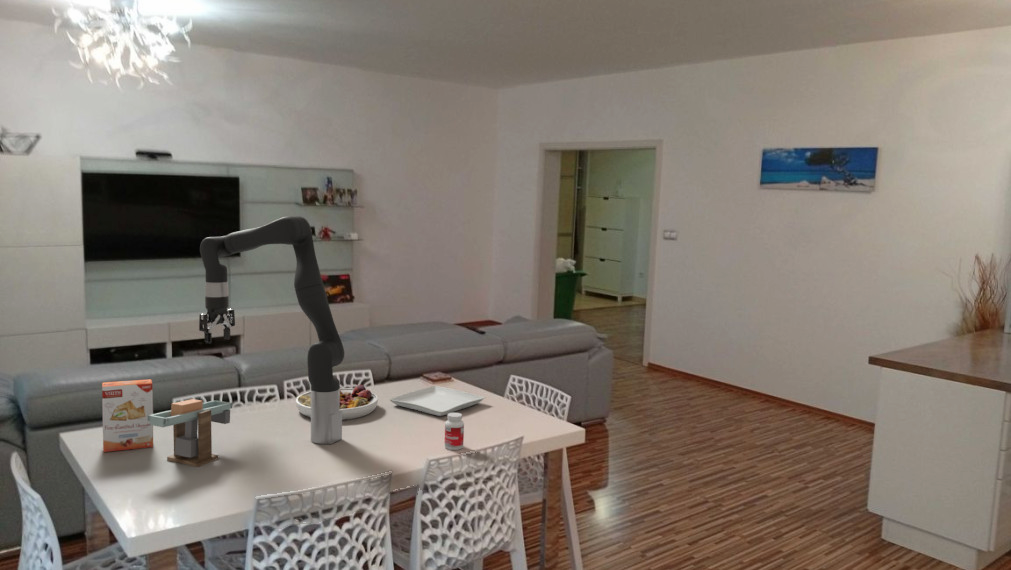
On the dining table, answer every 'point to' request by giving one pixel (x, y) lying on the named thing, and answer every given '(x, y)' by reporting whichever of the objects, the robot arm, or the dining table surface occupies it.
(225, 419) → the beam
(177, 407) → the block
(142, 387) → the cracker box
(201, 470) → the dining table surface
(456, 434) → the pill bottle
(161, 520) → the dining table surface
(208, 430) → the pivot stand
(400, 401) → the square plate
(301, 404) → the bowl
